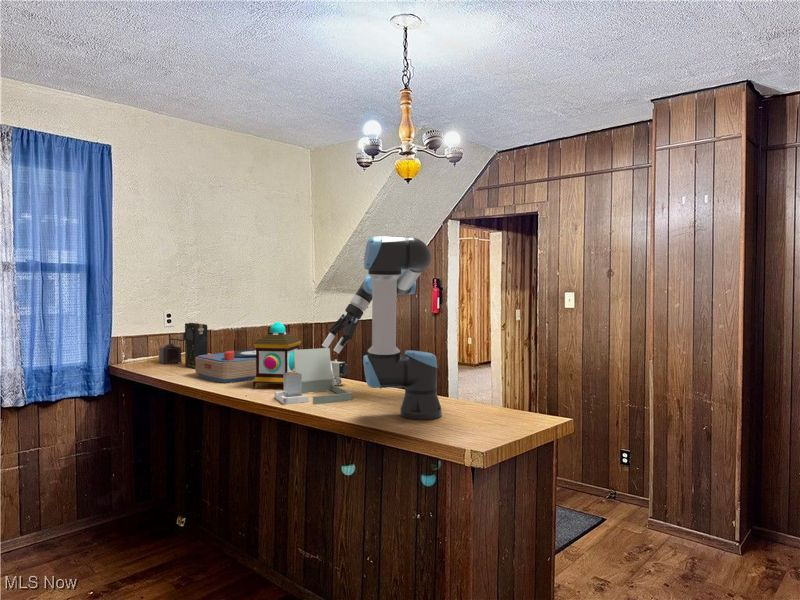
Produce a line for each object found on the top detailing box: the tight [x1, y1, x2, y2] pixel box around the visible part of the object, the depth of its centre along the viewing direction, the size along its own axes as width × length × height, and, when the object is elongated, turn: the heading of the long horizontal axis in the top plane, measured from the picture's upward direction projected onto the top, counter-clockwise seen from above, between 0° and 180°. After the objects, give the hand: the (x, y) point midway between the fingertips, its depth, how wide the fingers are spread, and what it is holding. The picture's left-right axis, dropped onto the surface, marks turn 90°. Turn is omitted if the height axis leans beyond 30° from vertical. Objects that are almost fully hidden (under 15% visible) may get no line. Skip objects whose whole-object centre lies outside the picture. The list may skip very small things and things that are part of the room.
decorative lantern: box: [252, 321, 302, 389], centre depth 260 cm, size 20×20×30 cm
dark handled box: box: [158, 332, 186, 365], centre depth 336 cm, size 16×11×18 cm
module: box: [283, 372, 303, 398], centre depth 230 cm, size 6×6×11 cm
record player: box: [195, 348, 256, 384], centre depth 292 cm, size 44×36×15 cm
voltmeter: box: [184, 322, 209, 370], centre depth 317 cm, size 16×9×25 cm, turn 43°
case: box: [293, 347, 353, 405], centre depth 237 cm, size 27×18×19 cm, turn 27°
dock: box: [274, 390, 309, 406], centre depth 230 cm, size 14×10×2 cm
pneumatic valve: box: [330, 359, 349, 386], centre depth 263 cm, size 6×12×12 cm, turn 60°
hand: (330, 349), depth 237 cm, fingers open, 13 cm apart
